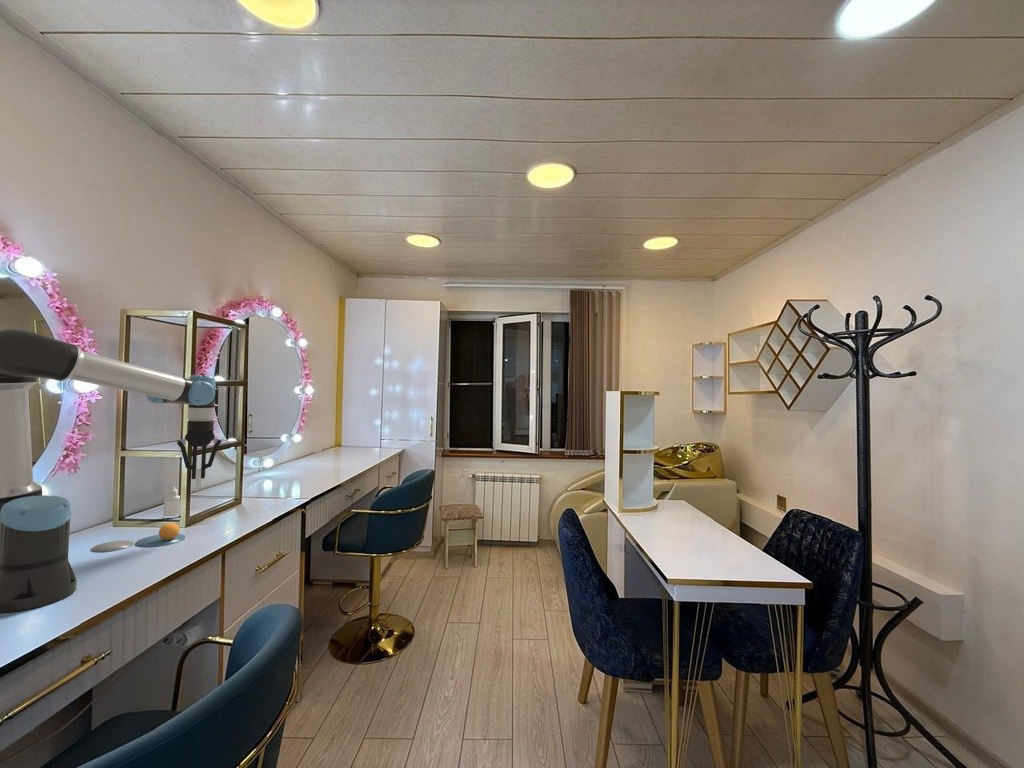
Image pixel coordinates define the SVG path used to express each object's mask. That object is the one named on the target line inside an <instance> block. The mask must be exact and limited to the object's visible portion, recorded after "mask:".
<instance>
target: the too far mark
mask: <svg viewBox="0 0 1024 768" xmlns="http://www.w3.org/2000/svg"><path fill="white" fill-rule="evenodd" d="M131 545H132V546H133V545H134V541H132V540H113V541H108V542H103V543H99V544H97V545H94V546H93V547H91V548H90V549H91V550H92V551H91V552H93V551H94V553H109V551H110V552H115V551H114V550H116V551H119V550H120V549H121V550H124V549H127V548H129V546H130V547H131Z"/></svg>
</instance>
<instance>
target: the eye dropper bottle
mask: <svg viewBox="0 0 1024 768" xmlns="http://www.w3.org/2000/svg"><path fill="white" fill-rule="evenodd" d="M178 494H179V490H178V489H176V486H172V489H170V490H169V496H166V497H165V498H164V503H163V504H164V505H163V517H164V516H175V515H178V514H179V508H180V496H181V495H178Z"/></svg>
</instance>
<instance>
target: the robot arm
mask: <svg viewBox="0 0 1024 768" xmlns="http://www.w3.org/2000/svg"><path fill="white" fill-rule="evenodd" d="M37 378H40V379H49V380H52V381H53V380H54V381H59V382H64V381H66V380H74V381H77V382H78V381H79V382H83V383H87V384H92V385H98V386H103V387H107V388H112V389H115V390H116V389H117V390H120V391H121V390H122V391H126V392H130V393H131V392H132V393H135V394H140V395H145V396H146V399H147V400H148V402H149V403H152V404H176V405H177V404H178V405H187V419H188V421H187V422H186V423H187V425H186V426H187V427H186V434H185V436H184V437H183V438H181V439H179V440H177V442H176V444H177V445H178V447H179V448H180V452H181V455H182V459H183V462H184V466H185V468H186V469H188V470H191V480H195V481H194V482H195V483H194V486H195V487H194V490H201V485H202V484H201V483H202V480H204V479H205V477H206V469H207V468H212V466H213V463H214V460H215V457H216V454H217V450H218V447H219V446H220V445H221V443H222V442H223V440H222V439H220V438H218V437H216V435H215V433H214V427H215V425H214V423H215V422H214V418H215V404H216V403H215V402H216V391H217V390H216V389H217V388H216V387H217V386H216V378H215V377H214V376H212V375H199V374H198V375H197V374H191V375H190V376H189V378H186V377H182V376H180V375H179V376H178V375H175V374H171V373H167V372H164V371H159V370H155V369H152V368H149V367H146V366H140V365H137V364H133V363H129V362H126V361H122V360H118V359H113V358H110V357H106V356H102V355H98V354H95V353H92V352H87V351H83V350H81V349H80V347H79V346H78V345H76V344H74V343H73V344H72V343H69V342H65V341H63V340H60V339H58V338H57V339H56V338H54V337H50V336H46V335H45V334H44V335H43V334H41V333H38V332H34V331H31V330H27V329H20V328H0V614H2V613H12V612H20V611H26V610H31V609H35V608H40V607H42V606H47V605H50V604H52V603H55V602H59V601H60V600H63V599H65V598H67V597H69V596H70V595H72V594H73V593H75V592H76V590H77V585H78V584H77V581H78V579H77V578H76V576H75V573H74V570H73V568H72V566H71V563H70V561H69V549H70V548H69V546H70V534H71V533H70V530H71V518H72V510H71V504H70V502H69V500H68V499H66V498H64V497H62V496H57V495H47V494H46V495H43V486H42V485H40V484H39V483H37V482H35V481H34V473H33V456H32V454H33V453H32V452H33V451H32V433H31V416H30V414H31V412H30V411H31V410H30V394H29V393H30V392H29V390H30V389H31V388H32V387H33V386H35V385H37ZM186 441H187V443H189V445H190V446H191V447H192V459H191V460H192V462H191V463H190V459H189V456H188V452H187V448H186V444H187V443H186ZM212 441H213V442H212ZM211 442H212V443H213V447H212V450H211V452H210V455H209V459H208V462H207V461H206V460H207V446H209V445H211ZM198 447H201V460H200V461H201V464H200V468H197V461H198V460H197V459H198ZM206 462H207V463H206Z"/></svg>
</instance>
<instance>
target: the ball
mask: <svg viewBox="0 0 1024 768" xmlns="http://www.w3.org/2000/svg"><path fill="white" fill-rule="evenodd" d="M178 534H180V526H179V525H177V524H176V523H173V522H168V523H166V524H164V525H162V526H161V527H160V529H159V531H158V535H159V536H160V538H161V539H163V540H172V539H174V538H175V537H176V536H177V535H178Z"/></svg>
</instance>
